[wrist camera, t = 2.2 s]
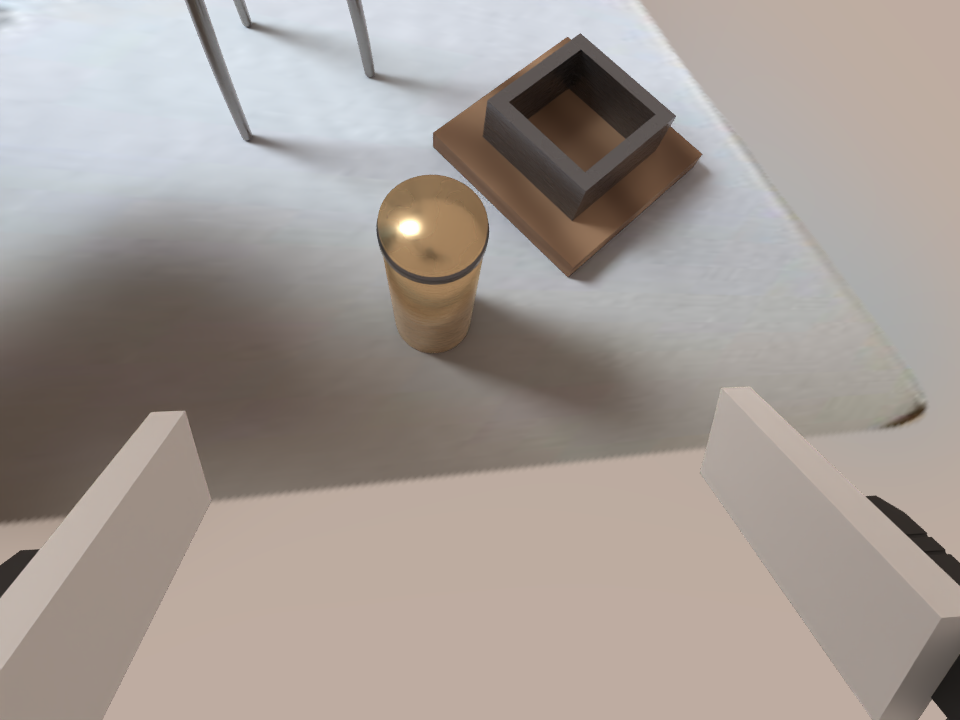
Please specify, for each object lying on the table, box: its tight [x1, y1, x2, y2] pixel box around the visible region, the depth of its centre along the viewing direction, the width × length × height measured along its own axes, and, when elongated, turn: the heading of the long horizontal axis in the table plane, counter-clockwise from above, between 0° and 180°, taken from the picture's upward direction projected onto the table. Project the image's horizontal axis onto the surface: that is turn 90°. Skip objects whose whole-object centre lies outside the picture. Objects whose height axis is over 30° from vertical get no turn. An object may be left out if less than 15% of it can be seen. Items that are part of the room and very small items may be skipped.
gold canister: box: [377, 175, 489, 353], centre depth 30 cm, size 5×5×12 cm
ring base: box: [433, 37, 702, 277], centre depth 40 cm, size 14×14×2 cm
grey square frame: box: [483, 33, 676, 221], centre depth 37 cm, size 9×9×4 cm
